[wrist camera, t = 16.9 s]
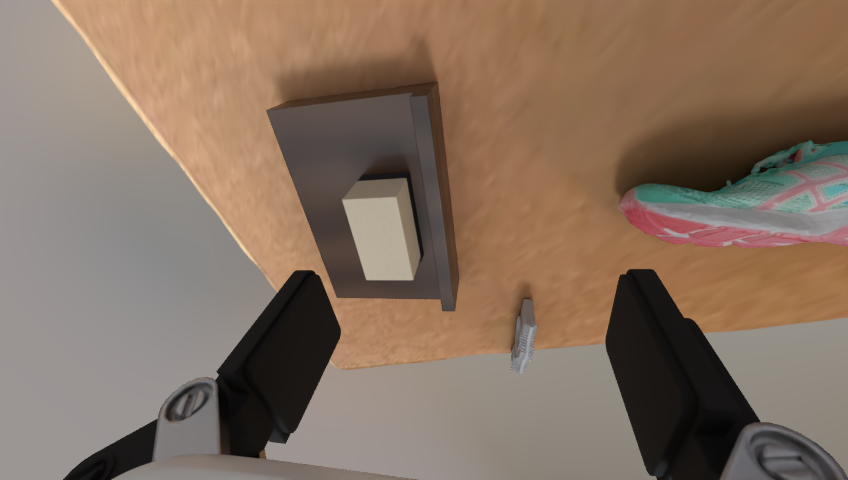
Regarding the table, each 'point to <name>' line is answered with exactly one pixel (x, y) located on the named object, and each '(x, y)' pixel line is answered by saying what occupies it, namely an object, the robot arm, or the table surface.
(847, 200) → the athletic shoe
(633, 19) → the table surface
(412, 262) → the tall beige carton
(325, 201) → the shelf
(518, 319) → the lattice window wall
